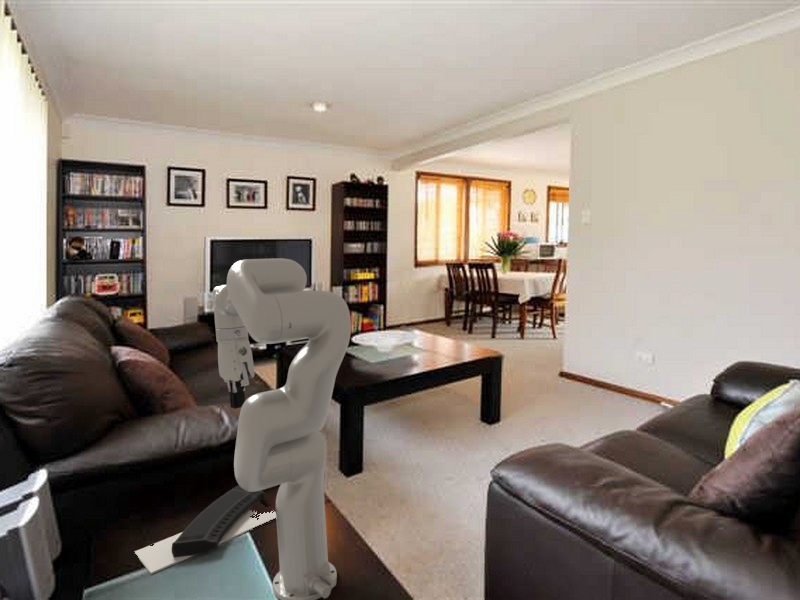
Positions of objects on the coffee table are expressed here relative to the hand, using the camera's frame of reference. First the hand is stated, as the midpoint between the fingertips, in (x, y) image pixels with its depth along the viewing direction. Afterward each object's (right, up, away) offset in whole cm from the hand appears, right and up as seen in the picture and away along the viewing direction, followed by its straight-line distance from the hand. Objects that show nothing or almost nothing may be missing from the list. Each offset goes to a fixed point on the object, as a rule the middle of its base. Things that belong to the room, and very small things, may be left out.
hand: (238, 406), depth 122 cm
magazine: (-9, -28, +1) cm, 29 cm away
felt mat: (-5, -30, -4) cm, 31 cm away
